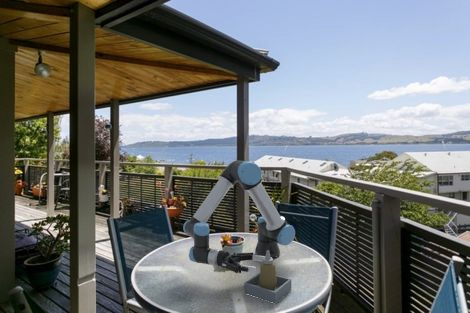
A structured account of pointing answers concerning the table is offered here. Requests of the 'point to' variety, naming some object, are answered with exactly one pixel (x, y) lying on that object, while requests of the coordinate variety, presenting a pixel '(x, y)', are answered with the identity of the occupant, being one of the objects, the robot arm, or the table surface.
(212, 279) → the table surface
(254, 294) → the bin
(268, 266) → the squeeze bottle
